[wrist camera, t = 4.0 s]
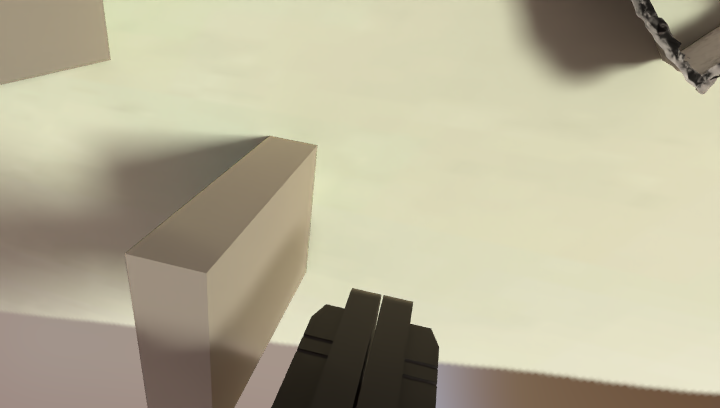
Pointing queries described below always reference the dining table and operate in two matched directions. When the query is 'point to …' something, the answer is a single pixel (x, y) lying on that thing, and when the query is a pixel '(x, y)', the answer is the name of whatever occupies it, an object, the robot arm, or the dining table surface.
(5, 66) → the beige flat slab
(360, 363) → the robot arm
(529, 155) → the dining table surface
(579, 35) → the dining table surface
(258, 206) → the beige rectangular block
